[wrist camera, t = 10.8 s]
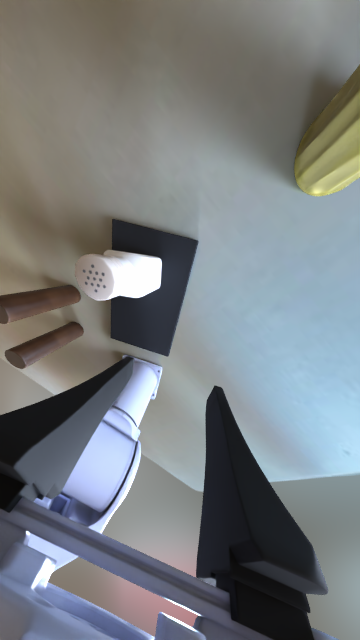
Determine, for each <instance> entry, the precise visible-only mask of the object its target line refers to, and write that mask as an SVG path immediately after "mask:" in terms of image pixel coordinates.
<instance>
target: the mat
mask: <svg viewBox="0 0 360 640" xmlns="http://www.w3.org/2000/svg"><path fill="white" fill-rule="evenodd" d="M197 245H198V241H197V240H193V239H189V238H186V237H182V236H178V235H174V234H170V233H166V232H162V231H158V230H154V229H151V228H147V227H143V226H139V225H135V224H131V223H127V222H123V221H119V220H116V219H112V250H114V251H121V252H128V253H135V254H142V255H148V256H155V257H159V258H160V259H161V262H162V268H161V283H160V287H159V288H158V289H156V290H154V291H152V292H150V293H148V294H146V295H144V296H142V297H139V298H133V297H126V296H121V295H119V296H117V297H113V298H111V338H112V339H115V340H118V341H122V342H125V343H128V344H131V345H134V346H137V347H140V348H143V349H146V350H149V351H152V352H155V353H158V354H161V355H164V356H167V357H168V356H169V353H170V349H171V345H172V341H173V337H174V333H175V330H176V326H177V322H178V318H179V314H180V310H181V307H182V303H183V299H184V295H185V291H186V287H187V284H188V280H189V276H190V272H191V268H192V264H193V261H194V257H195V253H196V249H197Z"/></svg>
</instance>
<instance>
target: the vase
mask: <svg viewBox="0 0 360 640" xmlns="http://www.w3.org/2000/svg"><path fill="white" fill-rule="evenodd" d="M294 171H295V179H296V182H297V184H298V186H299V187H300V188H301V190H302V191H304V192H305V193H307V194H309V195H313V196H324V195H328V194H331V193H334V192H337V191H340V190H342V189H343V188H345V187H346V186H348V185H349V184H351V183H352V182H353V181H355V180H357V179H358V178H360V65H359V66H358V68H357V69H356V70H355V71H354V73H353V74H352V75H351V76H350V78H349V79H348V80H347V82H346V83H345V84H344V86H343V87H342V88H341V89H340V91H339V92H338V93H337V94H336V96H335V97H334V98H333V99H332V101H331V102H330V103H329V105H328V106H327V107H326V108H325V109H324V110H323V111H322V112H321V113H320V114H319V115H318V116H317V118H316V119H315V120H314V121H313V122H312V124H311V125H310V126H309V128H308V129H307V131H306V132H305V134H304V136H303V138H302V140H301V142H300V145H299V147H298V150H297V153H296V157H295V164H294Z"/></svg>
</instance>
